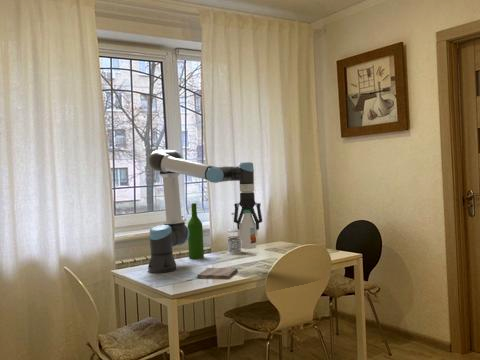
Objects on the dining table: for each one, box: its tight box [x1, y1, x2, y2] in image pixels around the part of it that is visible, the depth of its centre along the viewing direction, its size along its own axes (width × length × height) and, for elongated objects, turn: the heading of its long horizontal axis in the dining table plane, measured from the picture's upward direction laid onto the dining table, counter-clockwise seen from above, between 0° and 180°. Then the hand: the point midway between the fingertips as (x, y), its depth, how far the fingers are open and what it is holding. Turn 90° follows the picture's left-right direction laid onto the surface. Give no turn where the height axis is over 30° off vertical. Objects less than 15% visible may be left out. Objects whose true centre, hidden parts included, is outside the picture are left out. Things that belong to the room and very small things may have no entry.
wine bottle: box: [186, 203, 205, 260], centre depth 292 cm, size 9×9×32 cm
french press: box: [226, 212, 243, 255], centre depth 302 cm, size 10×12×25 cm
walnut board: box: [196, 267, 238, 280], centre depth 245 cm, size 16×16×2 cm
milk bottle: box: [240, 210, 257, 250], centre depth 252 cm, size 8×8×20 cm
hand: (248, 235), depth 253 cm, fingers closed on milk bottle, 7 cm apart
